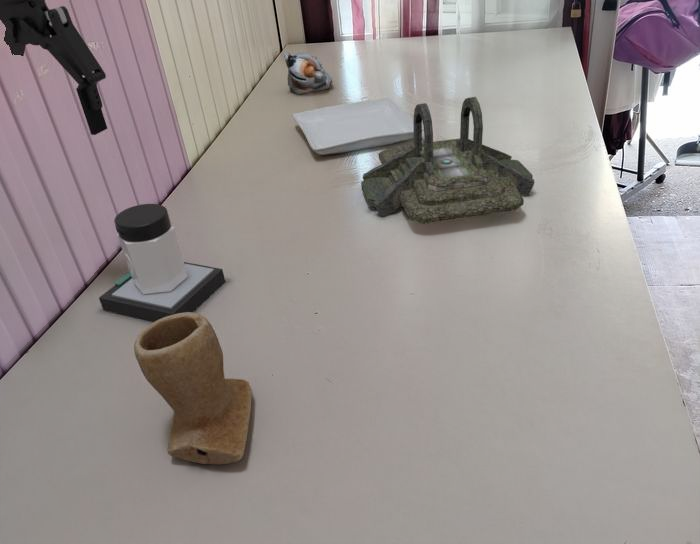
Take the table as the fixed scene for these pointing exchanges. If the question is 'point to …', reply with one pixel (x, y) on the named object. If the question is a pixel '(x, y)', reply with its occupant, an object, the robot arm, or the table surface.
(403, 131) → the square plate
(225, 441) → the clay smoking pipe
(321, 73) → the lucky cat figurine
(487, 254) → the table surface
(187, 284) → the scale
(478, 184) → the grey stone stepped platform
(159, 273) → the jar
